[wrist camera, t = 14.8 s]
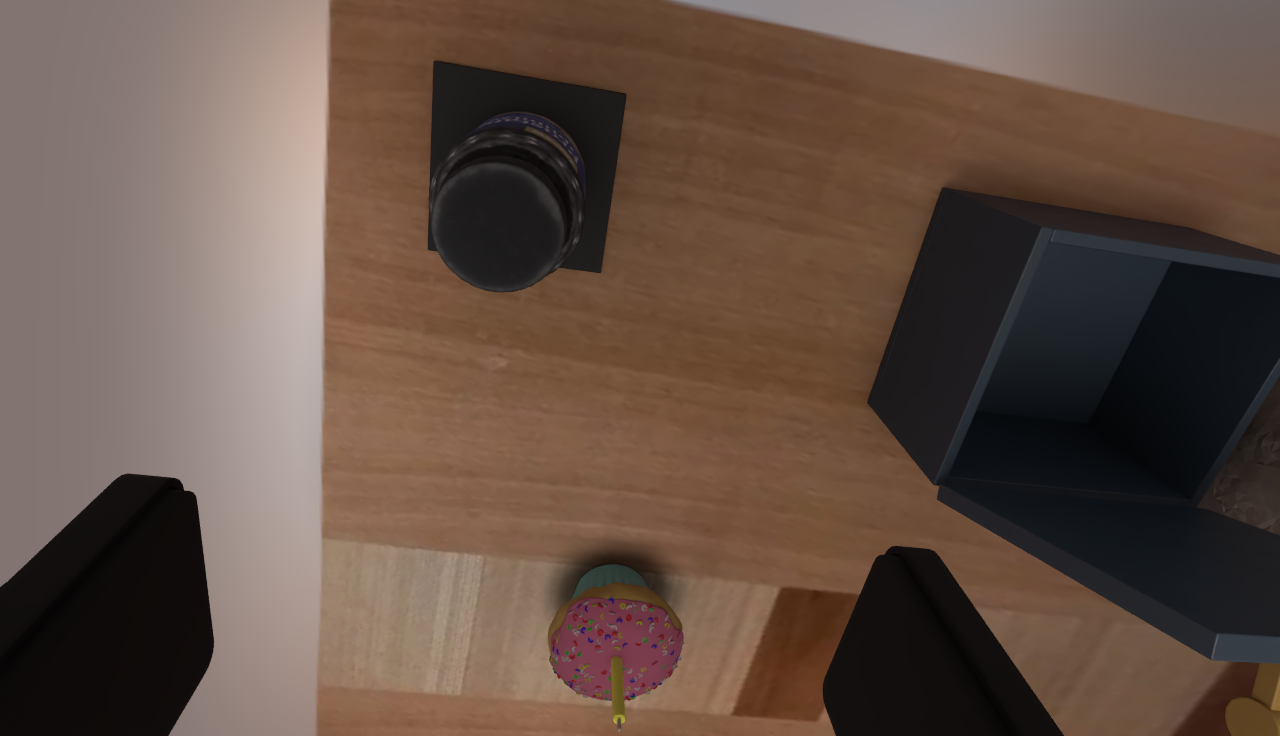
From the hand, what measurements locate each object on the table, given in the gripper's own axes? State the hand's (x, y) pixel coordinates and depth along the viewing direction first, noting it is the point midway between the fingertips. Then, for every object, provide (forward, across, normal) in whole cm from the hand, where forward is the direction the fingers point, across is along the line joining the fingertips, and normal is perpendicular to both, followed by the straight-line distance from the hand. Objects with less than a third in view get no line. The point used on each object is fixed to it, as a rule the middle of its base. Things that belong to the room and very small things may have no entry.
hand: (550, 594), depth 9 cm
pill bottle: (+28, +2, 0) cm, 28 cm away
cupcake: (+28, -6, +26) cm, 39 cm away
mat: (+28, +2, 0) cm, 28 cm away
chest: (+28, -27, +3) cm, 39 cm away
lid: (+12, -27, +7) cm, 31 cm away
